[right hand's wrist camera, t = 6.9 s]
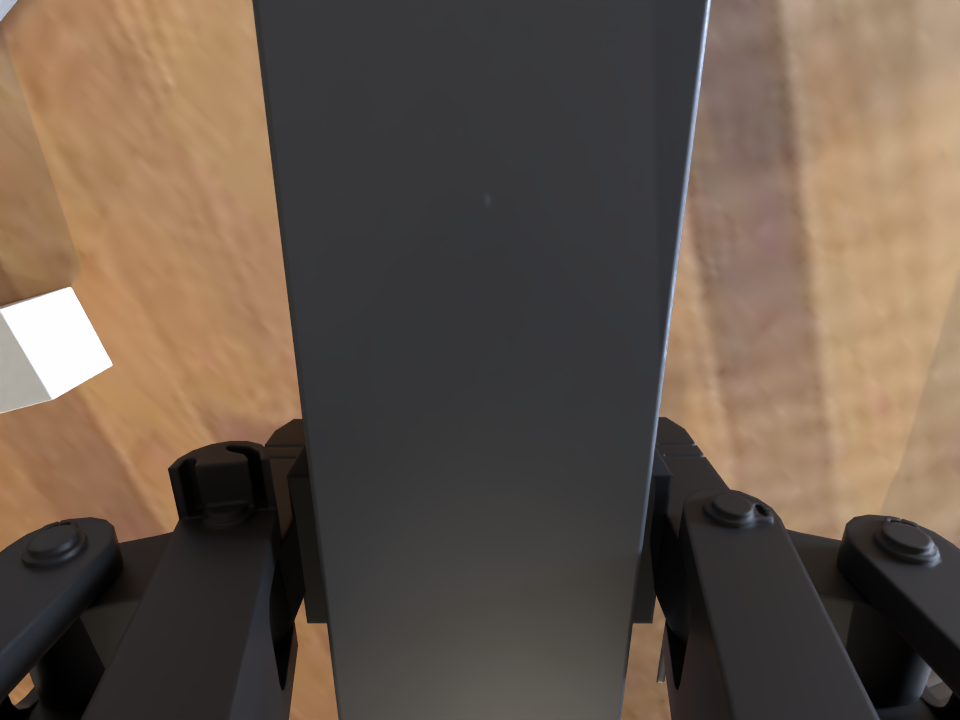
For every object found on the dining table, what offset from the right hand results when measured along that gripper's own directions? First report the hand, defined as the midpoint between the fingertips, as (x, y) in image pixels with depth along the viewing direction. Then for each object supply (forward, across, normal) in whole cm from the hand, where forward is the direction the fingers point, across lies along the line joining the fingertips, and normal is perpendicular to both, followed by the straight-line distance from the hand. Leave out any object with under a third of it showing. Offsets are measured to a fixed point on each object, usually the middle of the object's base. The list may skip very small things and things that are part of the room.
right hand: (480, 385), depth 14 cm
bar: (0, 0, -9) cm, 9 cm away
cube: (+12, +20, +2) cm, 23 cm away
